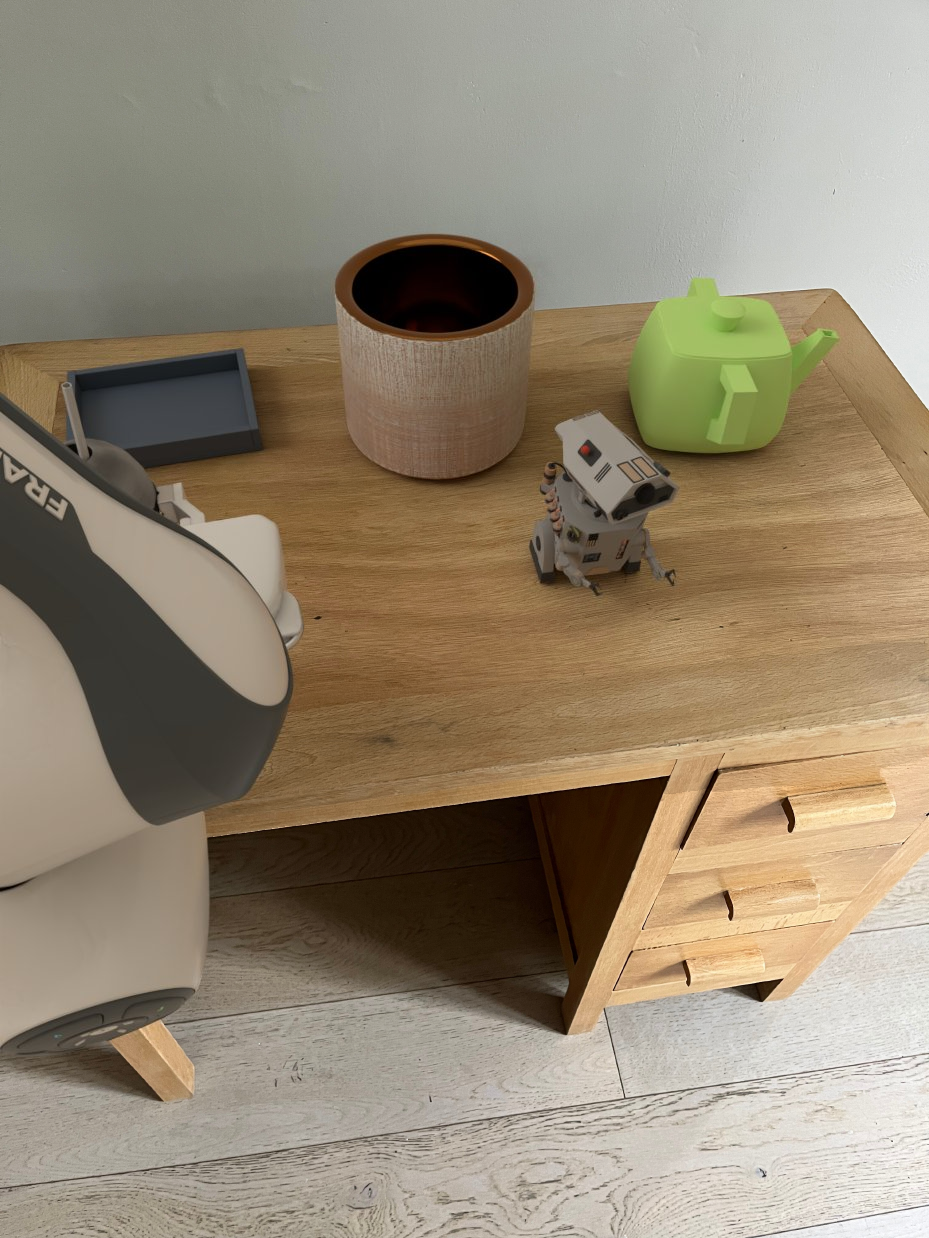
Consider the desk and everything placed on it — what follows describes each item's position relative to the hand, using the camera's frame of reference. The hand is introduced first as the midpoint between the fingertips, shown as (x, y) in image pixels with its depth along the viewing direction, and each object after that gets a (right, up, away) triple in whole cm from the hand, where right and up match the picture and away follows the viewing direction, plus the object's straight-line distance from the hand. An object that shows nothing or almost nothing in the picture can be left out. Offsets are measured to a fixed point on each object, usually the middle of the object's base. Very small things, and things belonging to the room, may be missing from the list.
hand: (95, 504), depth 50 cm
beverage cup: (0, -8, +8) cm, 11 cm away
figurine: (+33, -3, +24) cm, 41 cm away
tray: (-8, +13, +36) cm, 39 cm away
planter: (+19, +13, +36) cm, 43 cm away
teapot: (+47, +13, +38) cm, 62 cm away
